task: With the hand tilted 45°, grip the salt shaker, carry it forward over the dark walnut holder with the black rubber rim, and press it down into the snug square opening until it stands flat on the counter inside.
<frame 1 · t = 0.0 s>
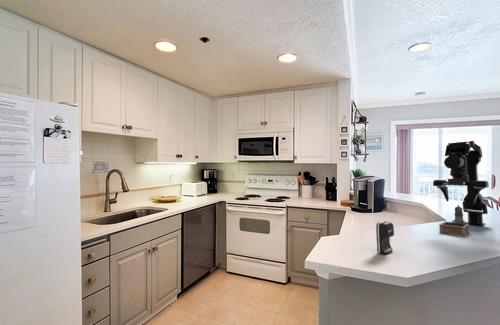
hand: (460, 202, 112), 15 cm above the countertop, tool pointing down, fingers open, 9 cm apart
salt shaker: (459, 229, 120), on the countertop
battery: (386, 253, 91), on the countertop
holder: (454, 232, 115), on the countertop
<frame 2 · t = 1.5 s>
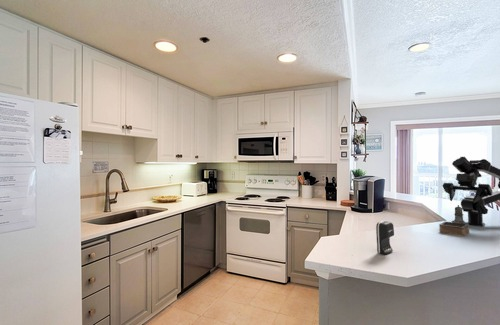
hand: (461, 201, 122), 13 cm above the countertop, tool tilted 45°, fingers open, 9 cm apart
nothing on the countertop moved.
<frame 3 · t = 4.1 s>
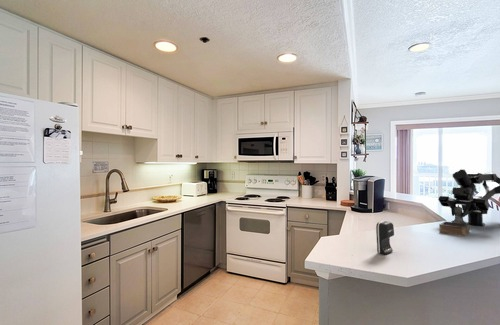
hand: (457, 216, 120), 7 cm above the countertop, tool tilted 45°, fingers closed on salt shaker, 4 cm apart
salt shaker: (459, 229, 120), on the countertop, touching gripper
everything else where it was.
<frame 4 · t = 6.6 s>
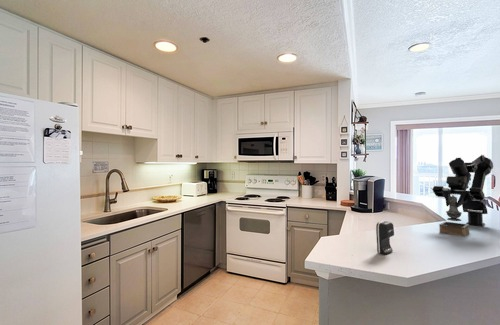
hand: (452, 206, 114), 12 cm above the countertop, tool tilted 45°, fingers closed on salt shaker, 4 cm apart
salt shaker: (454, 220, 115), point 6 cm above the countertop, touching gripper
everything else where it was.
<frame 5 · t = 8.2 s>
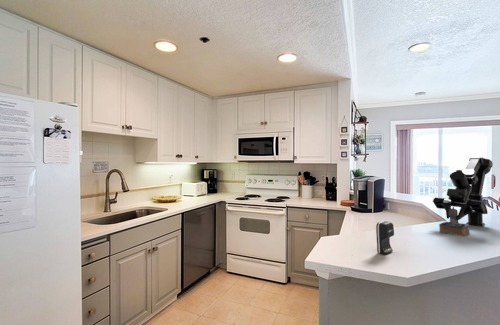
hand: (452, 218, 114), 7 cm above the countertop, tool tilted 45°, fingers closed on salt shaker, 4 cm apart
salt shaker: (454, 232, 115), resting in holder, touching gripper
everything else where it was.
when the fingers open (7 cm above the countertop, at t = 9.1 s): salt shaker stays where it is, resting in holder.
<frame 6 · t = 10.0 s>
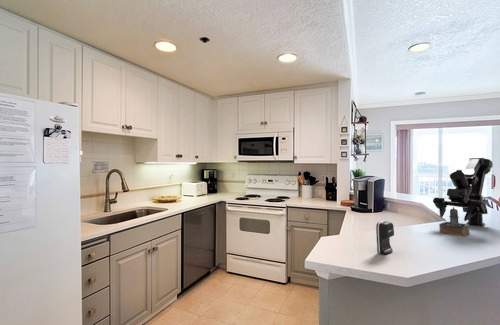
hand: (452, 218, 114), 7 cm above the countertop, tool tilted 45°, fingers open, 9 cm apart
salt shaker: (454, 232, 115), resting in holder
everything else where it was.
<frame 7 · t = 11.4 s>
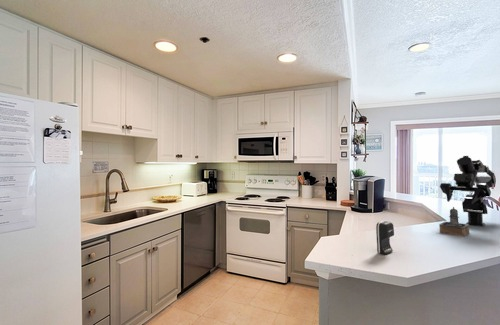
hand: (459, 202, 119), 14 cm above the countertop, tool tilted 45°, fingers open, 9 cm apart
nothing on the countertop moved.
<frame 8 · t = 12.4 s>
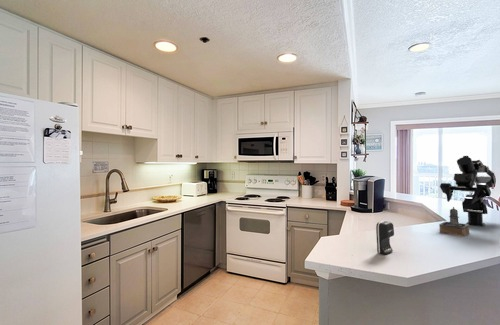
hand: (459, 202, 119), 14 cm above the countertop, tool tilted 45°, fingers open, 9 cm apart
nothing on the countertop moved.
at the end: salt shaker 0.3 cm off-centre on the holder, point 0.0 cm above the holder's base; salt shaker tilted 0°; the gripper is holding nothing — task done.
